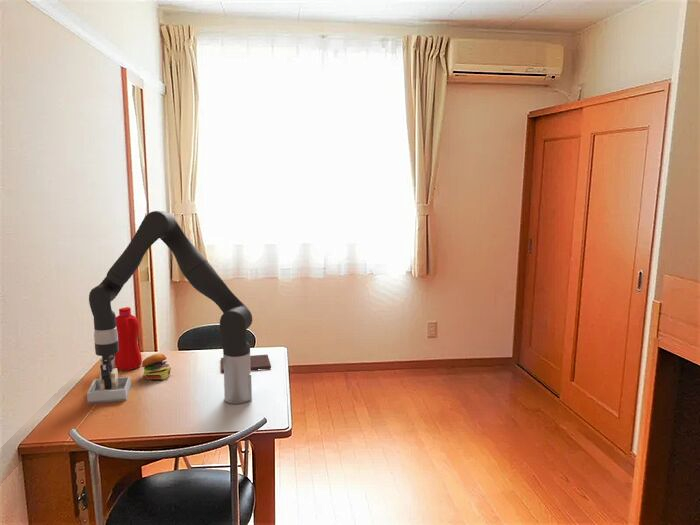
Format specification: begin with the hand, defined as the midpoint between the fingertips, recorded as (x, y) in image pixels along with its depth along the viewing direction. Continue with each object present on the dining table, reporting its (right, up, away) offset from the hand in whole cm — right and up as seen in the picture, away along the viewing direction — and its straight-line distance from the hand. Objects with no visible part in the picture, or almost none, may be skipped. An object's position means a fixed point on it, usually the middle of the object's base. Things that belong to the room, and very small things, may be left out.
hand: (109, 385), depth 183 cm
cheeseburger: (+10, -1, +18) cm, 21 cm away
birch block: (0, -1, 0) cm, 1 cm away
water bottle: (-6, +1, +28) cm, 28 cm away
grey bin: (0, -4, +1) cm, 4 cm away
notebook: (+42, +1, +32) cm, 53 cm away
